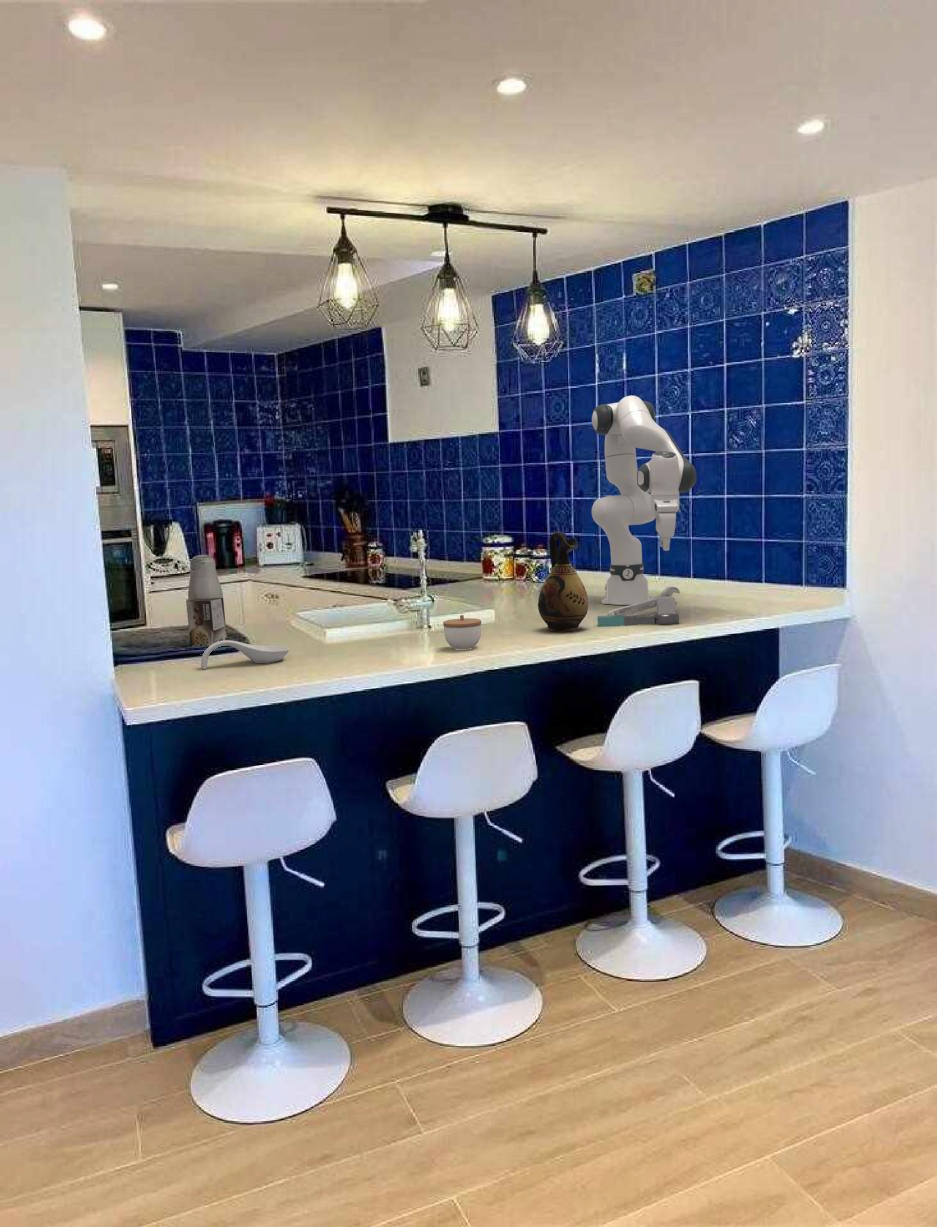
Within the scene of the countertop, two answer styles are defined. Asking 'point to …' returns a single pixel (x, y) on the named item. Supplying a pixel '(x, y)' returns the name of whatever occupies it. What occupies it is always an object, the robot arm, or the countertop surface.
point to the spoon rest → (249, 652)
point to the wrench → (644, 604)
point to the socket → (666, 605)
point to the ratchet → (638, 619)
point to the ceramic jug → (562, 589)
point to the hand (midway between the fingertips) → (664, 548)
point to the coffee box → (206, 621)
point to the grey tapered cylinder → (203, 578)
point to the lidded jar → (462, 632)
